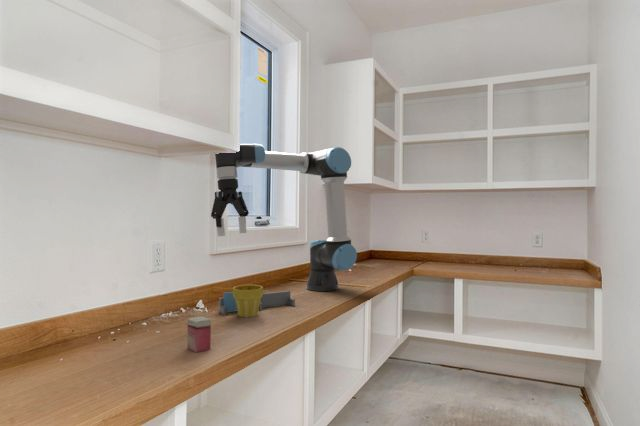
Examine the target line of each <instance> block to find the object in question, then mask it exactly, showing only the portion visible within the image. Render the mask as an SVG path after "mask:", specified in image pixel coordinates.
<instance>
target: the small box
mask: <svg viewBox="0 0 640 426" xmlns="http://www.w3.org/2000/svg"><path fill="white" fill-rule="evenodd" d="M211 324H212V319H211V318H208V317H205V316H202V315H200V316H196V317H190V318H187V336H186V338H187V339H186V341H187V349H189V350H191V351H192V352H195V353H200V352H204V351H208V350H210V349H211V345H212V344H211V342H212V341H211V339H212V338H211V334H212V331H211V329H212V327H211V326H212V325H211Z"/></svg>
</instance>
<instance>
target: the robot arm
mask: <svg viewBox="0 0 640 426" xmlns="http://www.w3.org/2000/svg"><path fill="white" fill-rule="evenodd" d="M239 144H240V151H239V152H236V153H219V154H215V153H214V158H215V166H216V177H217V178H216V179H218V180H217V188H218V191H215V192H214V200H213V204H212V209H211V214H210V217H211V218H212V219H215V226H216V231H217V236H218V237H225V236H226V232H225V220H224V217H223V215H224V213H225V210H226V207H227V206H228V205H229V204H230V205H232V206H233V208H234V209H235V211H236V213H238V216H237V219H238V227H239V228H238V229H239V234H247V225H246V224H247V221H246V219H247V218H246V217H248V215H249V214H250V213H249V209H248V207H247V205H246V202H245V200H244V197H243V192H242V191H237V189H239V180H238V168H240V167H242V168H254V169H255V168H256V169H257V168H259V169H268V170H279V171H280V170H282V171H296V172H300V173H301V174H305V175H312V176H319V177H320V180H321V181H322V182H324V189H325V190H324V191H325V208H326V210H325V211H326V223H327V224H326V225H327V238H325V239H317V240H312V241H311V242H310V245H309V253H310V254H309V256H310V257H309V260H310V262H309V263H310V264H309V265H310V266H309V267H310V270H309V271H310V272H309V274H308V275H309V276H308V279H307V281H306V289H307V290H309V291H313V292H332V291H337V290H339V282H338V279H337V275H336V272H335V271H348V270H349V269H351V268H353V266H354V265H355V264H356V261H357V259H358V258H357V257H358V254H357V253H358V252H357V250H356V248H355V247H354V245H352V238H351V237H350V236H349V235H348V227H347V226H348V224H347V222H348V221H347V212H346V211H347V208H346V192H345V190H346V189H345V181H346V180H347V178H348V171H350V168H351V166H352V159H351V156H350V154H349V152H348V151H347V150H346V149H344V148H343V147H339V146H337V147H336V146H335V147H329V148H326V149H323V150H318V151H313V152H301V153H300V154H299V153H289V152H279V151H271V150H270V151H268V150H265V146H264V145H263V144H260V143H239Z"/></svg>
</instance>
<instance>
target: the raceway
mask: <svg viewBox="0 0 640 426" xmlns="http://www.w3.org/2000/svg"><path fill="white" fill-rule="evenodd" d="M218 299H219V303H218V308H219V309H218V311H219V312H218V313H220V314H222V315H223V316H226V315H227V313H229V312H238V311H237V306H236V302H235V298H233V291H230V292H229V291H228V292H223V297H219V298H218ZM285 305H290V306H292V307H295V306H296V299H294V298H293V297H291V291H290V290H284V291H275V292H274V291H273V292H266V293H265V292H263V296H262V297H261V300H260V305H259V309H258V311H263V308H269V307H277V306H285Z"/></svg>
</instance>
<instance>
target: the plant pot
mask: <svg viewBox="0 0 640 426" xmlns="http://www.w3.org/2000/svg"><path fill="white" fill-rule="evenodd" d="M232 292H233V298H235V302H236V306H237V311H236V312H237V315H238V316H239V317H240V318H241V317H242V318H252V317H256V316H257V315H258V314H259V310H258V309H259V305H260V300H261V297H262V296H263V293H264V286H262V285H258V284H240V285H236V286H233V287H232Z"/></svg>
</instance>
